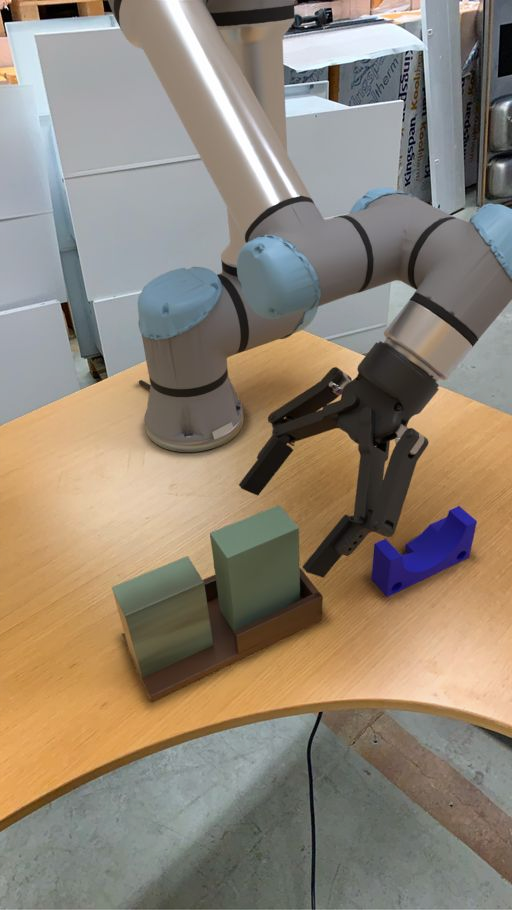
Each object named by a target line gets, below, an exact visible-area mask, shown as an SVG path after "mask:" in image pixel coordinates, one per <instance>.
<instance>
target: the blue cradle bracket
mask: <svg viewBox="0 0 512 910" xmlns="http://www.w3.org/2000/svg"><path fill="white" fill-rule="evenodd" d="M477 523H478V520H476V519H475V517H473V516H472V515H470V513H468V512H467V511H466V510H465V509H464V508H462V507H461V506H460V505H457V506H455V507H453V508H451V509H448V512H447V515H446V517H443V518H441V519H439V520H436V521H434V522H432V523H430V524H429V525H428V526H427V527H426V528H425V529H424V530H423V531H422V532H421V533H420V534H418V536H416V537H415V538H413V539H411V540H410V541H408V542H406V543H405V548H404V553H405V554H401V553H400V552H399V551H398V550H397V549H396V548H395V547H394V546H393V544H391V542H389V541H388V539H386V538H384V539H381V540H379V541H377V542H375V543H374V544H373V553H372V554H373V555H372V565H371V566H372V567H371V576H370V577H371V578H370V581H372V583H373V584H374V585H375V586H376V587H377V588H378V590H379V591H380V592H381V593H382V594H383V595H384V596H385V598H389V597H391V596H393V595H394V594H398V593H399V592H401V591H403V590H405V589H407V588H410V587H411V586H414V585H415V584H418V583H419V582H423V581H425V580H427V579H428V578H430V577H432V576H434V575H436V574H438V573H441V572H442V571H445V570H447V569H449V568H451V567H453V566H455V565H458V564H459V563H461V562H463V561H465V560H467V559H469V558H470V555H471V551H472V547H473V541H474V537H475V533H476V528H477Z"/></svg>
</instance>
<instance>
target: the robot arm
mask: <svg viewBox="0 0 512 910" xmlns="http://www.w3.org/2000/svg"><path fill="white" fill-rule="evenodd" d="M297 1H298V0H107V2H108V4H109V7H110V10H111V12H112V14H113V18H114V19H115V21H116V23H117V25H118V27H119V29H120V31H121V32H122V35H123V36H124V37H125V39H126V40H127V41H128V42H129V43H130V44H131V45H132V46H134V47H135V48H137V49H141V50H143V53H144V54H145V56H146V58H147V59H148V62H149V63H150V65H151V67H152V69H153V71H154V72H155V75H156V77H157V78H158V81H159V82H160V84H161V86H162V88H163V89H164V91H165V93H166V95H167V98H168V99H169V102H170V104H171V105H172V107H173V108H174V111H175V112H176V114H177V117H178V118H179V120H180V122H181V123H182V125H183V127H184V129H185V131H186V133H187V135H188V136H189V139H190V141H191V142H192V144H193V146H194V148H195V150H196V152H197V154H198V155H199V158H200V159H201V161H202V163H203V165H204V167H205V169H206V171H207V172H208V174H209V176H210V178H211V180H212V183H213V184H214V186H215V187H216V189H217V192H218V193H219V195H220V197H221V199H222V201H223V202H224V204H225V206H226V213H227V224H228V235H229V242H228V244H227V245H226V247H225V248H224V249H223V250H222V251H221V254H220V261H221V273H218V274H217V273H216V272H215V271H213V270H212V269H209V268H207V267H203V266H192V267H189V268H186V267H180V268H176V269H172V270H168V271H167V272H164V273H161V274H159V275H158V276H156V277H154V278H153V279H151V280H150V281H149V282H148V283H147V284H145V286H143V288H142V290H141V292H140V293H139V295H138V298H137V313H138V322H137V323H138V329H139V333H140V334H141V335H140V336H141V339H142V345H143V351H144V356H145V362H146V367H147V372H148V378H149V383H148V382H146V381H144V380H142V379H140V380H139V381H138V384H139V385H140V386H142V387H144V388H146V389H148V390H149V393H148V398H147V406H146V411H145V413H144V425H145V430H146V434H147V436H148V437H149V439H150V440H151V441H152V442H153V443H154V444H156V445H157V446H158V447H161V448H163V449H165V450H168V451H173V452H178V453H197V452H204V451H208V450H212V449H216V448H218V447H221V446H223V445H225V444H226V443H228V442H230V441H232V440H233V439H234V438H235V437H236V436H237V435H238V434H239V433H240V431H241V430H242V428H243V427H244V420H245V419H244V418H245V417H244V407H243V404H242V402H241V400H240V398H239V396H238V394H237V392H236V390H235V388H234V385H233V383H232V381H231V379H230V377H229V372H228V371H229V370H228V361H227V360H228V358H229V357H232V356H235V355H238V354H241V353H243V352H247V351H249V350H252V349H255V348H258V347H261V346H264V345H266V344H269V343H272V342H276V341H278V340H284V339H288V338H290V337H291V336H293V335H294V334H296V333H299V332H301V331H303V330H305V329H306V328H307V327H309V325H311V323H312V322H313V321H314V319H315V317H316V315H317V313H318V310H319V307H321V306H324V305H327V304H329V303H332V302H335V301H338V300H341V299H343V298H346V297H348V296H352V295H355V294H359V293H363V292H365V291H369V290H371V289H375V288H378V287H381V286H383V285H386V284H389V283H391V282H395V281H399V282H401V283H403V284H405V285H407V286H409V287H410V288H412V289H414V290H415V291H414V293H413V295H412V296H411V297H410V298H409V300H408V301H407V303H406V304H405V305H404V306H403V308H402V309H401V310H400V312H399V313H398V314H397V315H396V316H395V317H394V319H393V320H392V321H391V322H390V324H389V325H388V326H387V328H386V329H385V330H384V331H383V336H384V337H385V338H386V339H385V340H384V342H383V341H378V342H375V343H374V344H373V346H372V347H371V349H370V350H369V351H368V352H367V354H366V355H365V356H364V357H363V359H362V360H361V362H359V363H358V366H357V368H356V369H357V375H356V376H355V378H353V379H352V377H351V376H349V375H348V374H347V373H345V372H344V371H343V370H341V369H340V368H338V367H337V366H334V367H332V368H330V370H328V372H327V373H326V374H325V375H324V376H323V377H322V379H320V381H318V382H317V383H315V384H313V385H312V386H311V387H309V388H307V389H306V390H304V391H302V393H300V394H299V395H297V396H296V397H294V398H292V399H291V400H289V401H288V402H286V403H285V404H283V405H282V406H280V407H278V408H277V409H275V410H274V411H273V412H271V413H270V414H269V415H268V417H267V422H268V423H269V424H271V427H272V430H271V433H272V435H271V436H270V438H268V440H267V441H266V443H265V444H264V445H263V446H262V448H261V450H260V451H259V452H258V454H257V456H256V459H257V460H256V461H255V463H254V464H252V466H251V467H250V469H249V470H248V471H247V473H246V474H245V475H244V477H243V478H242V479H241V480H240V482H239V484H238V486H239V487H240V489H241V490H243V491H246V492H248V493H250V494H253V495H255V496H259V495H260V494H261V493H262V491H263V490H264V489H265V488H266V486H267V485H268V484H269V483H270V481H271V480H272V479H273V477H274V476H275V475H276V474H277V472H278V471H279V469H280V468H281V467H282V466H283V464H284V463H285V462H286V461H287V459H288V458H289V456H290V455H291V454H292V453H293V451H294V449H293V448H292V447H295V443H296V442H299V441H302V440H305V439H308V438H311V437H314V436H317V435H320V434H323V433H326V432H330V431H332V430H336V429H340V430H341V431H343V432H344V433H346V434H347V435H348V437H349V439H350V440H352V441H353V442H354V443H356V444H357V450H358V452H359V464H358V474H357V482H356V490H355V500H354V508H353V515H348V514H346V513H345V514H344V515H343V516H342V517H341V518H340V520H339V521H338V522H337V524H336V525H335V526H334V527H333V529H331V531H330V532H329V533H328V534H327V536H326V537H325V538H324V539H323V540H322V542H321V543H320V544H319V546H317V548H315V550H314V551H313V553H312V554H310V557H309V558H308V559H307V560H306V561H305V562H304V563H303V565H302V569H303V571H305V572H306V573H308V574H311V575H315V576H317V577H320V578H323V579H324V578H325V577H326V575H327V574H328V573H330V571H331V569H332V568H333V567H334V566H335V565H336V564H337V563H338V561H339V560H340V559H341V558H342V556H345V557H349V556H351V555H352V554H353V553H354V552H355V551H356V549H357V548H358V547H359V546H360V545H361V543H362V542H363V541H364V540H365V539H366V538H367V536H368V535H369V534H371V533H376V534H379V535H381V536H383V537H386V538H392V537H393V536H394V535H395V533H396V530H397V526H398V523H399V520H400V517H401V514H402V511H403V506H404V504H405V501H406V498H407V496H408V495H407V494H408V491H409V488H410V485H411V482H412V479H413V475H414V473H415V468H416V466H417V462H418V461H419V459H421V456H422V455H423V453H424V452H425V450H426V449H427V448H428V446H429V439H428V437H426V436H425V435H423V434H422V433H420V432H419V431H418V430H417V429H415V428H413V427H408V424H409V421H410V420H411V419H412V418H413V417H414V416H417V415H420V413H422V411H423V410H424V409H425V408H426V406H428V404H429V403H430V401H431V400H432V399H433V398H434V396H435V395H436V394H437V393H438V392H439V390H440V389H439V387H440V385H439V384H438V381H439V379H440V380H442V381H445V380H448V379H449V378H450V376H451V375H452V374H453V372H454V371H455V370H456V369H457V368H458V366H459V365H460V364H461V363H462V361H463V360H464V359H465V358H466V356H467V355H468V354H469V353H470V352H471V350H472V349H473V347H474V346H475V345H476V344H477V342H478V341H479V340H480V338H481V337H482V336H483V335H484V334H485V332H486V331H487V330H488V329H489V327H490V326H492V324H493V323H494V321H496V319H497V318H498V317H499V316H500V314H501V313H503V311H504V309H506V308H507V306H508V305H509V304H510V303H511V302H512V208H510V207H508V206H505V205H504V204H499V203H498V204H495V203H486V204H484V205H483V206H481V207H480V208H479V209H478V211H476V212H475V214H474V215H471V216H470V218H469V221H466V220H464V219H462V218H457V217H455V216H453V215H451V214H449V213H447V212H445V211H443V210H441V209H439V208H437V207H435V206H433V205H431V204H429V203H427V202H425V201H423V200H422V199H419V198H418V197H417V196H414V195H413V194H411V193H407V192H405V191H401V190H400V191H399V190H396V189H394V188H391V187H386V186H380V187H375V188H372V189H369V190H368V191H366V193H365V195H363V196H362V197H361V198H359V199H358V200H356V201H355V203H354V204H353V206H351V209H350V211H349V212H348V213H346V214H343V215H337V216H334V217H332V218H326V219H325V218H324V217H323V215H322V213H321V212H320V209H319V208H318V207H317V206H316V204H315V202H314V200H313V198H312V197H311V195H310V193H309V191H308V189H307V187H306V186H305V184H304V182H303V180H302V179H301V176H300V175H299V173H298V171H297V169H296V167H295V165H294V163H293V161H292V160H291V158H290V156H289V155H288V140H287V139H288V138H287V137H288V136H287V116H286V115H287V113H286V89H285V68H284V67H285V66H284V63H285V62H284V42H283V40H284V37H285V35H286V33H288V31H289V29H290V28H291V27H292V25H294V23H295V18H296V16H295V13H296V12H295V2H297ZM339 397H340V399H339V400H336V399H337V398H339ZM335 400H336V401H335ZM333 401H334V402H333ZM391 441H394V443H395V446H394V448H393V450H392V451H391V455H390V445H391V444H390V443H391ZM291 446H292V447H291ZM389 455H390V457H389ZM387 461H388V464H387V467H386V470H385V465H386V462H387Z"/></svg>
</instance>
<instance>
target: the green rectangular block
mask: <svg viewBox="0 0 512 910" xmlns="http://www.w3.org/2000/svg"><path fill="white" fill-rule="evenodd" d="M209 537H210V545H211V552H212V553H211V554H212V560H213V568H214V575H215V576H216V584H217V591H218V599H219V606H220V611H221V612H222V614H223V615H224V617H225V619H226V620H227V622H228V624H229V625H230V627H231V628H232V630H233V631H235V630H237V629H239V628H241V627H243V626H245V625H248V624H250V623H252V622H254V621H256V620H258V619H260V618H263V617H265V616H267V615H269V614H271V613H273V612H275V611H278V610H280V609H282V608H284V607H286V606H288V605H291V604H293V603H295V602H297V601H299V600H300V568H301V567H300V566H301V565H300V564H301V563H300V527H299V526H298V524H296V523H295V521H294V520H293V519H292V518H291V517H290V515H289V514H288V513H287V512H286V510H285V509H284V508H283V507H282V506H281V505H280V504H277V505H275V506H273V507H269V508H268V509H265V510H263V511H261V512H260V511H259V512H258V513H254V514H253V515H250V516H248V517H245V518H243V519H240V520H238V521H235V522H233V523H231V524H228V525H226V526H223V527H220V528H218V529H215V530H213V531H210V532H209Z"/></svg>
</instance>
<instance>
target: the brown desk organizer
mask: <svg viewBox="0 0 512 910" xmlns="http://www.w3.org/2000/svg"><path fill="white" fill-rule="evenodd" d="M111 590H112V594H113V598H114V601H115V604H116V609H117V612H118V616H119V618H120V623H121V626H122V630H123V633H121V636H122V640H123V642H124V644H125V647H126V649H127V651H128V654H129V656H130V658H131V660H132V663H133V665H134V668H135V670H136V672H137V674H138V677H139V679H140V680H141V684H142V685H143V687H144V690H145V692H146V695H147V697H148V699H149V702H151V703H153V702H155V701H157V700H159V699H161V698H163V697H165V696H168V695H170V694H171V693H174V692H175V691H178V690H180V689H182V688H185V687H186V686H188V685H190V684H192V683H194V682H196V681H199V680H200V679H202V678H205V677H206V676H209V675H211V674H212V673H215V672H217V671H219V670H222V669H224V668H225V667H228V666H229V665H232V664H234V663H236V662H238V661H240V660H242V659H244V658H247V657H248V656H250V655H252V654H255V653H257V652H258V651H260V650H262V649H265V648H267V647H269V646H271V645H272V644H275V643H277V642H279V641H281V640H283V639H285V638H288V637H290V636H291V635H293V634H296V633H298V632H299V631H302V630H304V629H307V628H308V627H311V626H312V625H314V624H316V623H319V622H321V621H322V620H323V605H324V603H323V598H324V597H323V594H322V593H321V592H320V591H319V590H318V588H317V587H316V586H315V584H314V583H313V582H312V581H311V580H310V578H309V577H308V576H307V574H306V573H305V572H304V570H303V568H301V567H300V600H299V601H297V602H295V603H293V604H291V605H288V606H286V607H284V608H282V609H280V610H278V611H275V612H273V613H271V614H269V615H267V616H265V617H263V618H260V619H258V620H256V621H254V622H252V623H250V624H248V625H245V626H243V627H241V628H239V629H237V630H235V631H233V630H232V628H231V627H230V625H229V624H228V622H227V620H226V619H225V617H224V615H223V614H222V612H221V611H220V606H219V599H218V591H217V584H216V576H215V574H213V575H211V576H209V577H206V578H204V579H203V577H202V576H201V574H200V573H199V571H198V570H197V568H196V567H195V565H194V563H193V562H192V560H191V558H190V557H189V556H188V555H187V556H184V557H182V558H179V559H177V560H174V561H172V562H170V563H169V562H168V563H167V564H164V565H161V566H159V567H157V568H155V569H152V570H150V571H147V572H145V573H142V574H140V575H138V576H135V577H132V578H131V579H128V580H126V581H123V582H121V583H120V582H119V583H118V584H115V585H113V586H111Z"/></svg>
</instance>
